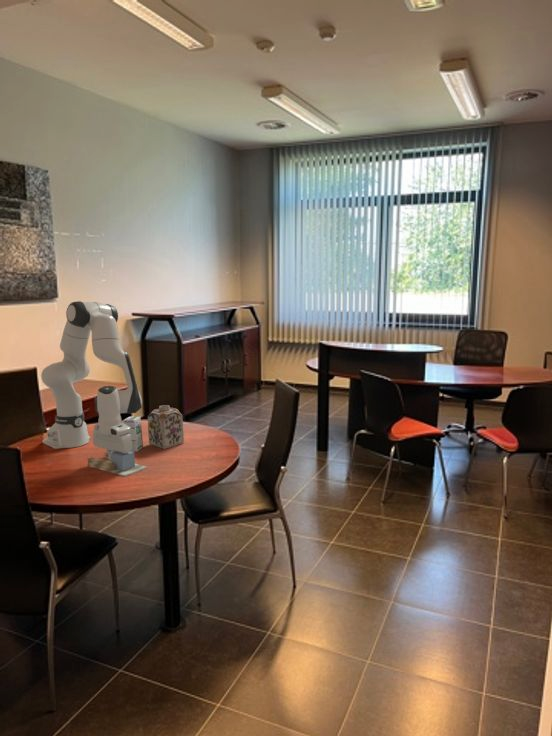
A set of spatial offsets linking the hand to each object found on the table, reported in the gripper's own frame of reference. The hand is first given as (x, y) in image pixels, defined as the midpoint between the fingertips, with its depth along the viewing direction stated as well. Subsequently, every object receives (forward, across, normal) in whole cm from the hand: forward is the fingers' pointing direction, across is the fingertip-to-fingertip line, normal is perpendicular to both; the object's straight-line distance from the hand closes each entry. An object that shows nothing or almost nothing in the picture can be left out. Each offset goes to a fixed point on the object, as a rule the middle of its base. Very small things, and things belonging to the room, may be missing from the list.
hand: (113, 459), depth 217 cm
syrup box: (+3, -10, +19) cm, 21 cm away
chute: (+3, +2, 0) cm, 3 cm away
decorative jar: (+3, -2, +32) cm, 32 cm away
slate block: (+3, +6, 0) cm, 7 cm away
